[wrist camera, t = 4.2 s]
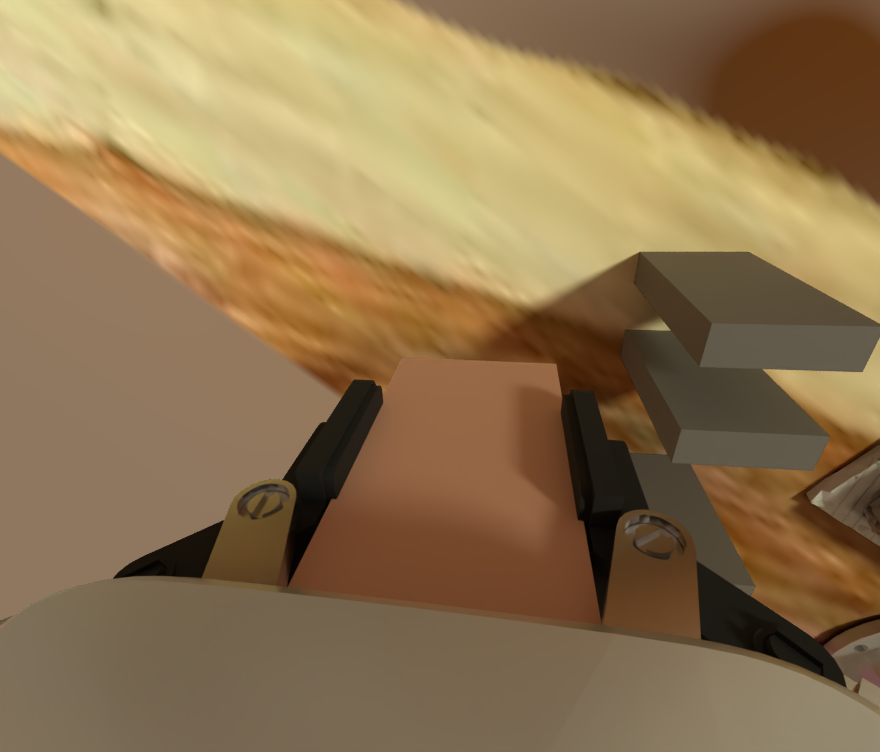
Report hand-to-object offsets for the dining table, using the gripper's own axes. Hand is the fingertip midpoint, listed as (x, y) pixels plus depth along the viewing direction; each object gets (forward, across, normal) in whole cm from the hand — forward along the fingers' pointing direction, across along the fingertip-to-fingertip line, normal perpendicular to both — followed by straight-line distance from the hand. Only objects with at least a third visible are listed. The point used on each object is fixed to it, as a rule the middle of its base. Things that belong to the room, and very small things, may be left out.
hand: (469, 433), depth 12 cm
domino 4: (+14, -10, +12) cm, 20 cm away
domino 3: (+14, -10, +3) cm, 17 cm away
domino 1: (+3, 0, 0) cm, 3 cm away
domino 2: (+14, -10, -1) cm, 17 cm away
